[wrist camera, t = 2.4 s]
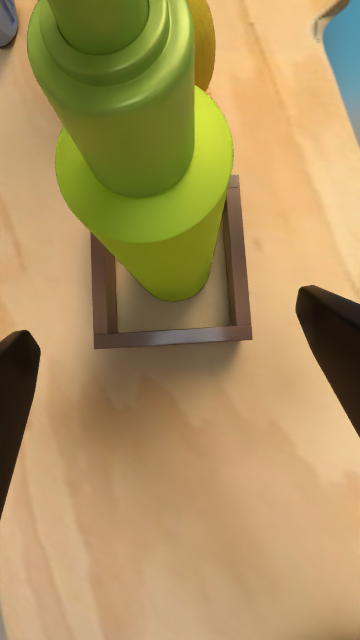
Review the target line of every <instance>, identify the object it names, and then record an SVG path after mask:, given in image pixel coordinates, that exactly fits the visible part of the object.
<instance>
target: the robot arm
mask: <svg viewBox="0 0 360 640" xmlns="http://www.w3.org/2000/svg"><path fill="white" fill-rule="evenodd" d="M296 314H297V317H298V319H299V322H300V324H301V327H302V329H303V332H304V334H305V337H306V339H307V341H308V344H309V346H310V349H311V351H312V353H313V355H314V357H315V359H316V360H317V362H318V364H319V366H320V367H321V369H322V371H323V373H324V375H325V376H326V378H327V380H328V382H329V384H330V385H331V387H332V389H333V391H334V393H335V394H336V396H337V398H338V400H339V401H340V403H341V405H342V407H343V409H344V410H345V412H346V414H347V416H348V418H349V419H350V421H351V423H352V425H353V427H354V428H355V430H356V432H357V434H358V435H359V437H360V304H358V303H356V302H353V301H351V300H348V299H346V298H344V297H341V296H339V295H336V294H334V293H332V292H329V291H327V290H324V289H322V288H319V287H317V286H315V285H310V286H303V287H301V288H300V289H299V291H298V296H297V302H296ZM40 355H41V351H40V347H39V345H38V344H37V342H36V341H35V339H34V338H33V336H32V335H31V333H30V332H29V331H27V330H21V331H15V332H13V333H11V334H10V335H8V336H7V337H6V338H4V339H3V340H2V341H0V519H1V515H2V512H3V508H4V504H5V501H6V497H7V493H8V490H9V486H10V482H11V479H12V475H13V471H14V468H15V464H16V460H17V457H18V453H19V449H20V446H21V442H22V438H23V435H24V431H25V427H26V424H27V420H28V416H29V413H30V409H31V405H32V402H33V398H34V393H35V388H36V382H37V375H38V368H39V362H40Z"/></svg>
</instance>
